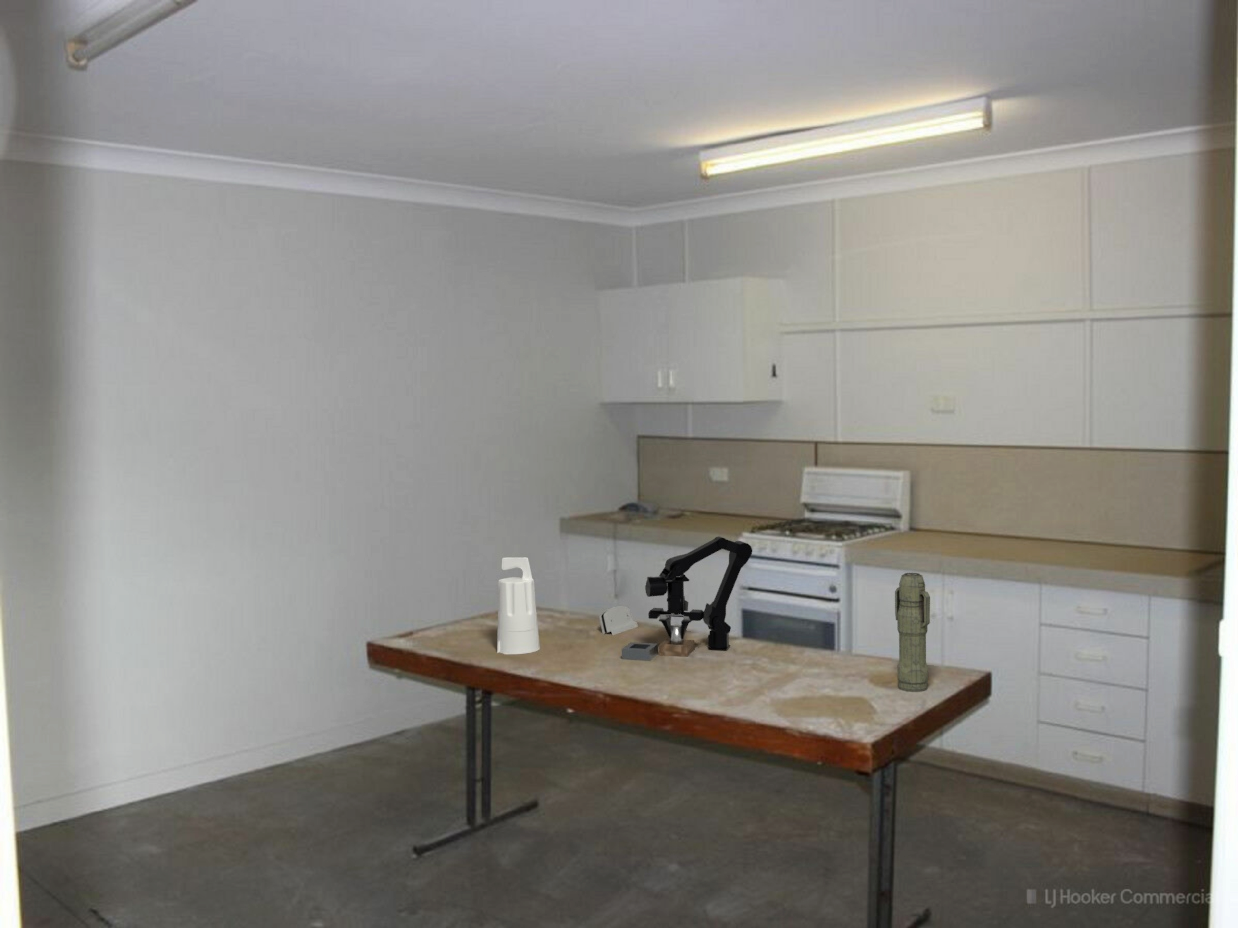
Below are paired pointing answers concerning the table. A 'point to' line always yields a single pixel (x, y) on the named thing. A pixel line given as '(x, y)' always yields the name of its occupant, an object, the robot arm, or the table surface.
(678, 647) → the socket block
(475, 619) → the table surface
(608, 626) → the hinge
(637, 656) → the block
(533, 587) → the white hook-topped canister
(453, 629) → the table surface
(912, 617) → the thermos
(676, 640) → the metal cylinder peg
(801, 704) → the table surface
